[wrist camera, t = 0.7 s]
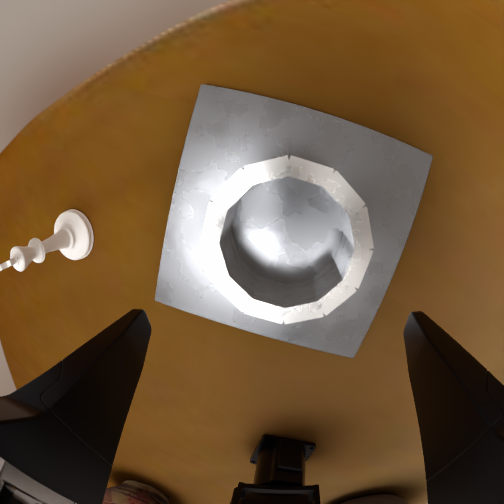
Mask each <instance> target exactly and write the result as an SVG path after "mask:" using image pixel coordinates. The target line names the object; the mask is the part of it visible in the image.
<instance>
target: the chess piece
mask: <svg viewBox="0 0 504 504" xmlns="http://www.w3.org/2000/svg"><path fill="white" fill-rule="evenodd" d="M93 242H94V236H93V230H92V226H91V224H90V222H89V220H88V219H87V217H86V216H85V215H84V214H83V213H82V212H80V211H78V210H75V209H70V210H67V211H65V212H63V213H62V214H61V215H60V216H59V217H58V218H57V220H56V223H55V227H54V235H52V236H51V237H49V238H48V239H46V240H44V241H42V242H41V241H40V240H39V239H38V238H33V239H31V240H30V242H29V244H28V247H21V246H15V247H13V248H12V249H11V252H10V259H11V260H9V261H6V262H4V263H2V264H0V271H1V270H3V269H5V268H7V267H9V266H12V265H13V266H14V268H15V269H16V270H17V271H20V272H21V271H23V270H25V269H26V267H27V266H28V265H29V263H31V262H32V260H33V261H34V262H36V263H41V262H43V261H44V259H45V253H48V252H51V251H55V250H60V251H61V252H62V254H63V255H65V256H66V257H67V258H69V259H72V260H79V259H82V258H85V257H86V256H87V255H88V254H89V253H90V252H91V250H92V247H93Z"/></svg>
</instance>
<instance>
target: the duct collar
mask: <svg viewBox="0 0 504 504" xmlns="http://www.w3.org/2000/svg"><path fill="white" fill-rule="evenodd" d="M432 158H433V156H432V155H430V154H428V153H425V152H423V151H421V150H419V149H417V148H415V147H412V146H410V145H408V144H406V143H403V142H401V141H399V140H396V139H394V138H392V137H389V136H387V135H384V134H382V133H379V132H377V131H374V130H372V129H369V128H366V127H364V126H361V125H358V124H356V123H353V122H350V121H347V120H344V119H341V118H338V117H335V116H332V115H329V114H326V113H323V112H320V111H316V110H313V109H310V108H306V107H303V106H299V105H296V104H292V103H289V102H285V101H281V100H277V99H273V98H269V97H265V96H260V95H256V94H252V93H247V92H242V91H237V90H232V89H227V88H222V87H216V86H210V85H204V84H201V87H200V90H199V94H198V97H197V101H196V104H195V108H194V111H193V115H192V118H191V122H190V126H189V130H188V133H187V137H186V141H185V145H184V149H183V153H182V157H181V162H180V166H179V170H178V174H177V179H176V183H175V188H174V193H173V197H172V202H171V207H170V212H169V217H168V222H167V228H166V233H165V239H164V244H163V250H162V256H161V262H160V268H159V275H158V282H157V288H156V296H155V301H158V302H160V303H163V304H166V305H169V306H172V307H175V308H177V309H180V310H183V311H186V312H189V313H192V314H195V315H198V316H201V317H204V318H207V319H210V320H214V321H217V322H220V323H223V324H226V325H229V326H233V327H236V328H239V329H243V330H246V331H249V332H253V333H256V334H260V335H263V336H267V337H270V338H274V339H278V340H281V341H285V342H289V343H292V344H296V345H300V346H304V347H308V348H312V349H316V350H320V351H324V352H328V353H332V354H337V355H341V356H345V357H350V358H354V356H355V354H356V352H357V351H358V349H359V347H360V345H361V343H362V341H363V339H364V337H365V335H366V333H367V331H368V329H369V327H370V325H371V323H372V321H373V319H374V317H375V314H376V312H377V310H378V308H379V306H380V304H381V302H382V299H383V297H384V295H385V293H386V290H387V288H388V286H389V283H390V281H391V279H392V276H393V274H394V271H395V269H396V267H397V264H398V262H399V259H400V257H401V254H402V251H403V249H404V246H405V243H406V241H407V238H408V235H409V233H410V230H411V227H412V224H413V221H414V218H415V215H416V212H417V209H418V206H419V203H420V200H421V197H422V193H423V190H424V187H425V183H426V180H427V176H428V173H429V169H430V166H431V162H432Z"/></svg>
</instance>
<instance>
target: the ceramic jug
mask: <svg viewBox="0 0 504 504" xmlns="http://www.w3.org/2000/svg"><path fill="white" fill-rule="evenodd" d="M168 501H169V498H168V497H167V496H165V495H164V494H163V493H161V492H160V491H159V490H157V489H155V488H153V487H151V486H149V485H147V484H144V483H140V482H137V481H132V480H126V481H125V482H123V483H122V484H121V485H119V486H115V487H110V488H106V491H105V495H104V499H103V503H102V504H168Z"/></svg>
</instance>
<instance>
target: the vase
mask: <svg viewBox="0 0 504 504" xmlns="http://www.w3.org/2000/svg"><path fill="white" fill-rule="evenodd" d="M340 504H408V503H407V501H406V500H404V499H403V498H402V497H399V496H396V495H390V494H380V495H370V496H364V497H360V498H355V499H352V500H349V501H345V502H343V503H340Z"/></svg>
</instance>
